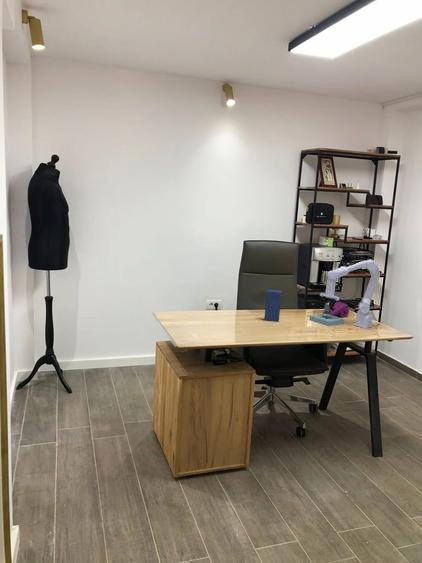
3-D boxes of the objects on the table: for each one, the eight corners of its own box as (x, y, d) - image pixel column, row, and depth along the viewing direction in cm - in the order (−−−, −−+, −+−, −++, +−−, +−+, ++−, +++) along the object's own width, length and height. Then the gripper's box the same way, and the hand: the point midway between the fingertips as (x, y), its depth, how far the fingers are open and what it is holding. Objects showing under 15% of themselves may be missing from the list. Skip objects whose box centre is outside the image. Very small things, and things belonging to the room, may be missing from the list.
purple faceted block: (331, 326, 323) (350, 314, 330) (329, 316, 320) (347, 304, 327) (322, 323, 331) (340, 311, 338) (319, 313, 328) (338, 301, 335)
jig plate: (343, 323, 310) (344, 319, 309) (328, 326, 300) (328, 321, 300) (324, 317, 322) (325, 313, 322) (309, 320, 313) (310, 315, 312)
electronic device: (278, 320, 307) (281, 290, 304) (278, 321, 302) (281, 291, 299) (264, 318, 308) (267, 289, 304) (264, 320, 303) (267, 290, 299)
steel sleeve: (332, 312, 310) (333, 302, 309) (328, 313, 307) (329, 303, 306) (326, 311, 313) (327, 301, 312) (322, 312, 310) (323, 301, 309)
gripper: (317, 287, 311) (315, 306, 313) (335, 291, 299) (333, 311, 302) (324, 286, 315) (322, 305, 317) (342, 290, 304) (339, 310, 306)
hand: (328, 308), depth 310 cm, fingers closed on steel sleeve, 4 cm apart
